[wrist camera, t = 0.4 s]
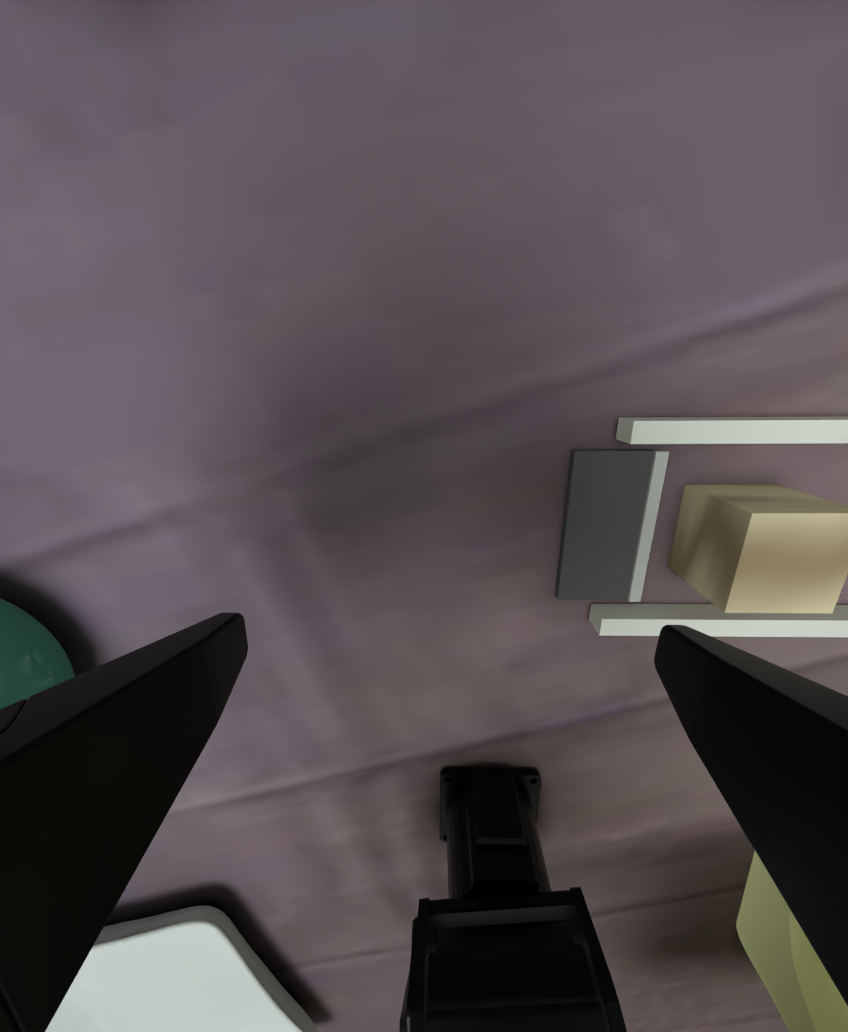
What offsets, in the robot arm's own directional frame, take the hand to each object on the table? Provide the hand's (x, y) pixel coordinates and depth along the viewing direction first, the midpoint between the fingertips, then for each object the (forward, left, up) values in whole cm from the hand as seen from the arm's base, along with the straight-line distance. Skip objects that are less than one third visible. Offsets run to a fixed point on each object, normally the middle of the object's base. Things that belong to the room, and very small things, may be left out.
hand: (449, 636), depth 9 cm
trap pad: (-2, -8, -12) cm, 15 cm away
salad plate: (-44, +23, -13) cm, 51 cm away
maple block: (-2, -14, -12) cm, 19 cm away
